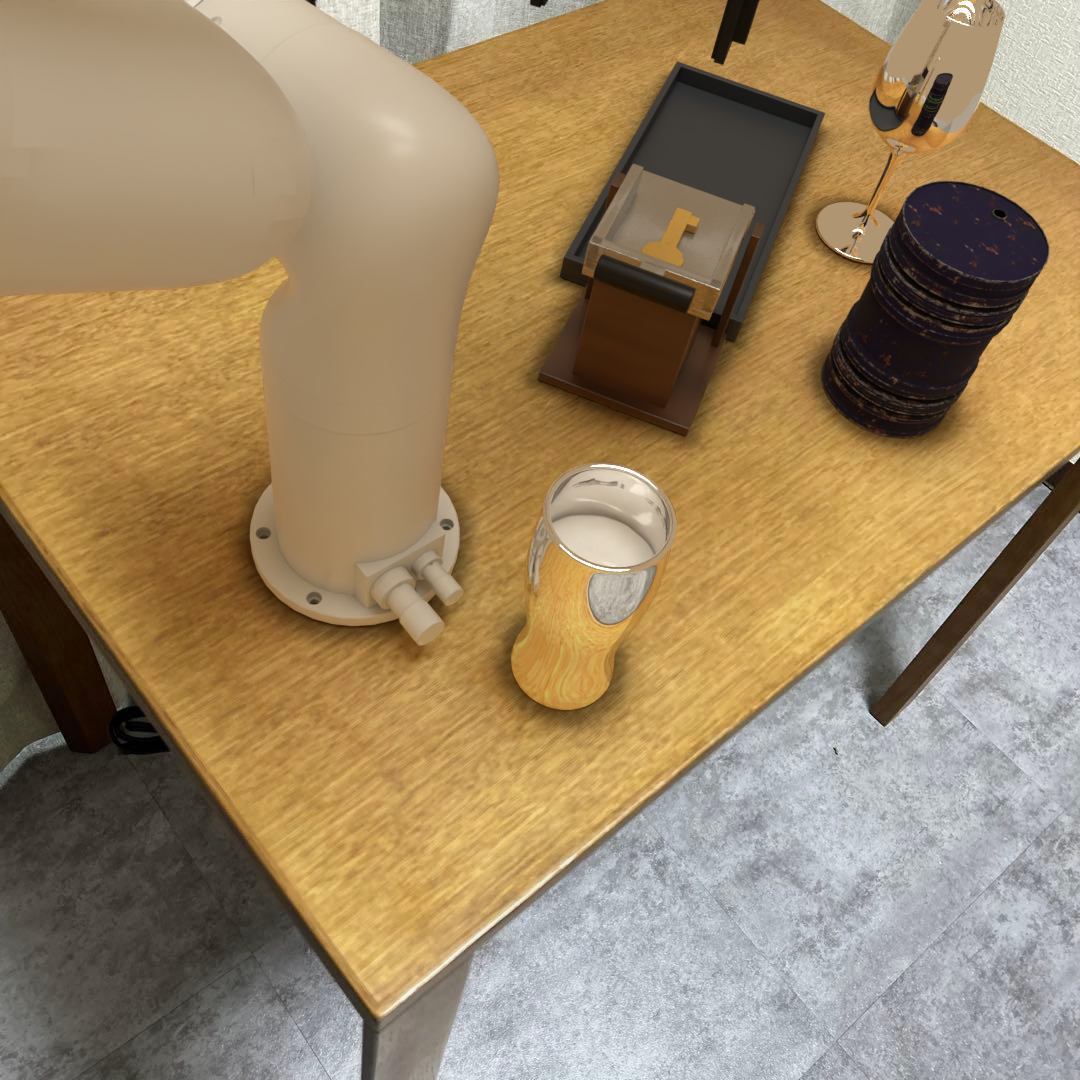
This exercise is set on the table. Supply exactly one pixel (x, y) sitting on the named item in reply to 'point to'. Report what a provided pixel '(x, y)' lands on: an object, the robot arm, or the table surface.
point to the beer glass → (589, 579)
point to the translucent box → (645, 219)
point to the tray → (717, 163)
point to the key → (673, 238)
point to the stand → (640, 349)
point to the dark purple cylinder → (932, 306)
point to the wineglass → (919, 105)
